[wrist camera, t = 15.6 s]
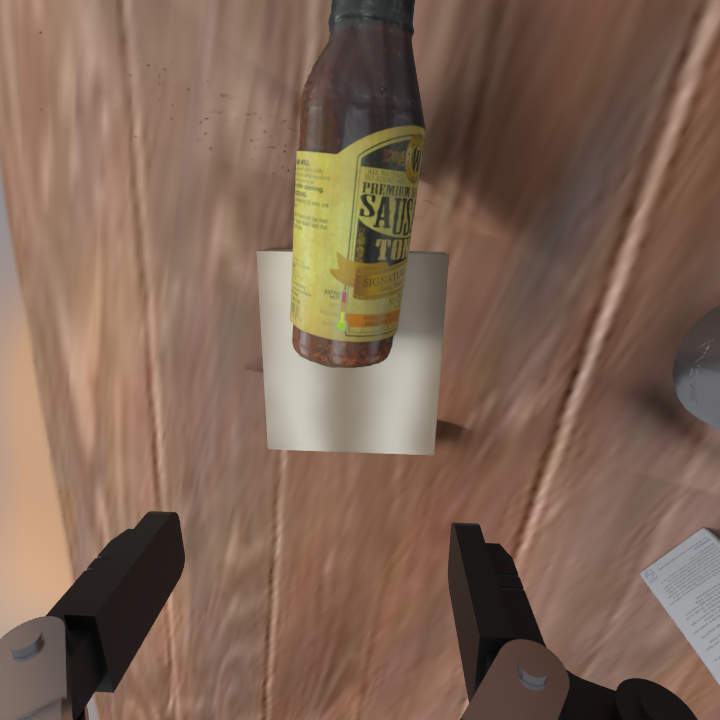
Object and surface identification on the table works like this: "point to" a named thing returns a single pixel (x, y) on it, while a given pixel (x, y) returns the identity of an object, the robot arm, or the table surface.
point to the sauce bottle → (356, 185)
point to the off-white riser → (355, 371)
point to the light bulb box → (692, 593)
